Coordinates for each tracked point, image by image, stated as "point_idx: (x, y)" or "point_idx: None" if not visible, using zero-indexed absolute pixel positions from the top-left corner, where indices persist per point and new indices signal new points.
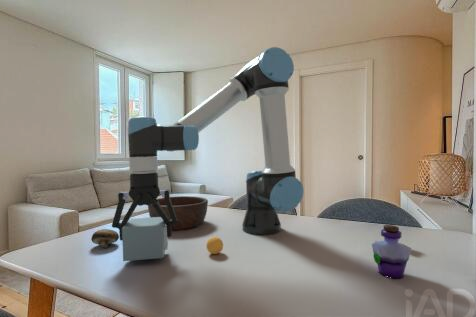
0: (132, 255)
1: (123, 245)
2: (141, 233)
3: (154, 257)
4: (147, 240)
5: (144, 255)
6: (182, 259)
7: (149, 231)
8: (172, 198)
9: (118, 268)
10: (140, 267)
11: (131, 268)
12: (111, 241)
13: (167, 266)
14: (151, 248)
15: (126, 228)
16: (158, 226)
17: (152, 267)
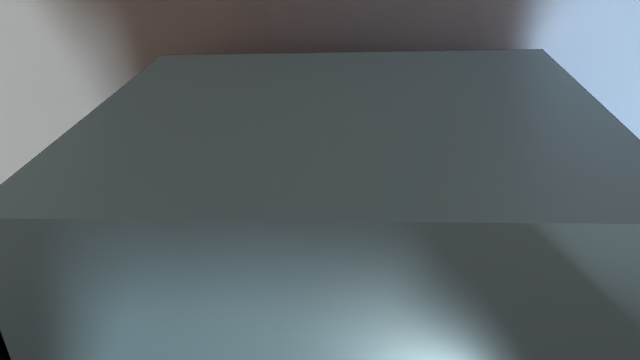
0: (456, 63)
1: (588, 100)
2: (346, 165)
3: (238, 56)
4: (272, 117)
5: (332, 63)
6: (56, 134)
7: (213, 176)
8: None
9: (570, 30)
10: (373, 21)
11: (450, 12)
12: None
13: (139, 6)
14: (245, 83)
15: (631, 219)
16: (28, 211)
17: (265, 5)
